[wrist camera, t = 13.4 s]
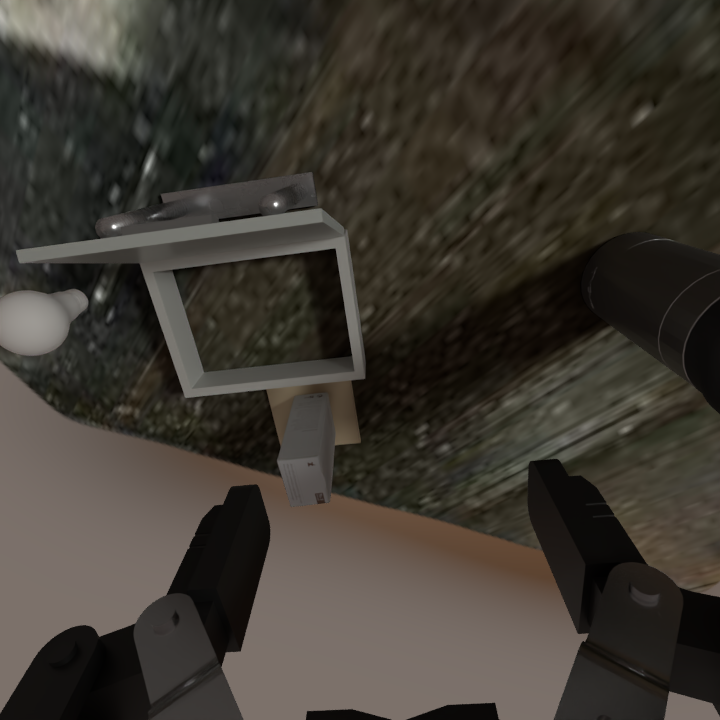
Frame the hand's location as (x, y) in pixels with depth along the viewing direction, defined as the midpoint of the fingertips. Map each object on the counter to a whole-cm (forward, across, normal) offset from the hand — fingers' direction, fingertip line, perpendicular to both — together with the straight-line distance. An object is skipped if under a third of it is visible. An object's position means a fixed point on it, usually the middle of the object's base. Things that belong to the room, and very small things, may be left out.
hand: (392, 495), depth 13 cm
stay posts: (+36, +13, -7) cm, 39 cm away
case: (+36, +13, +5) cm, 39 cm away
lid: (+25, +13, -4) cm, 29 cm away
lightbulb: (+36, +33, +1) cm, 49 cm away
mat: (+36, +10, +18) cm, 42 cm away
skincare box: (+36, +10, +18) cm, 41 cm away
